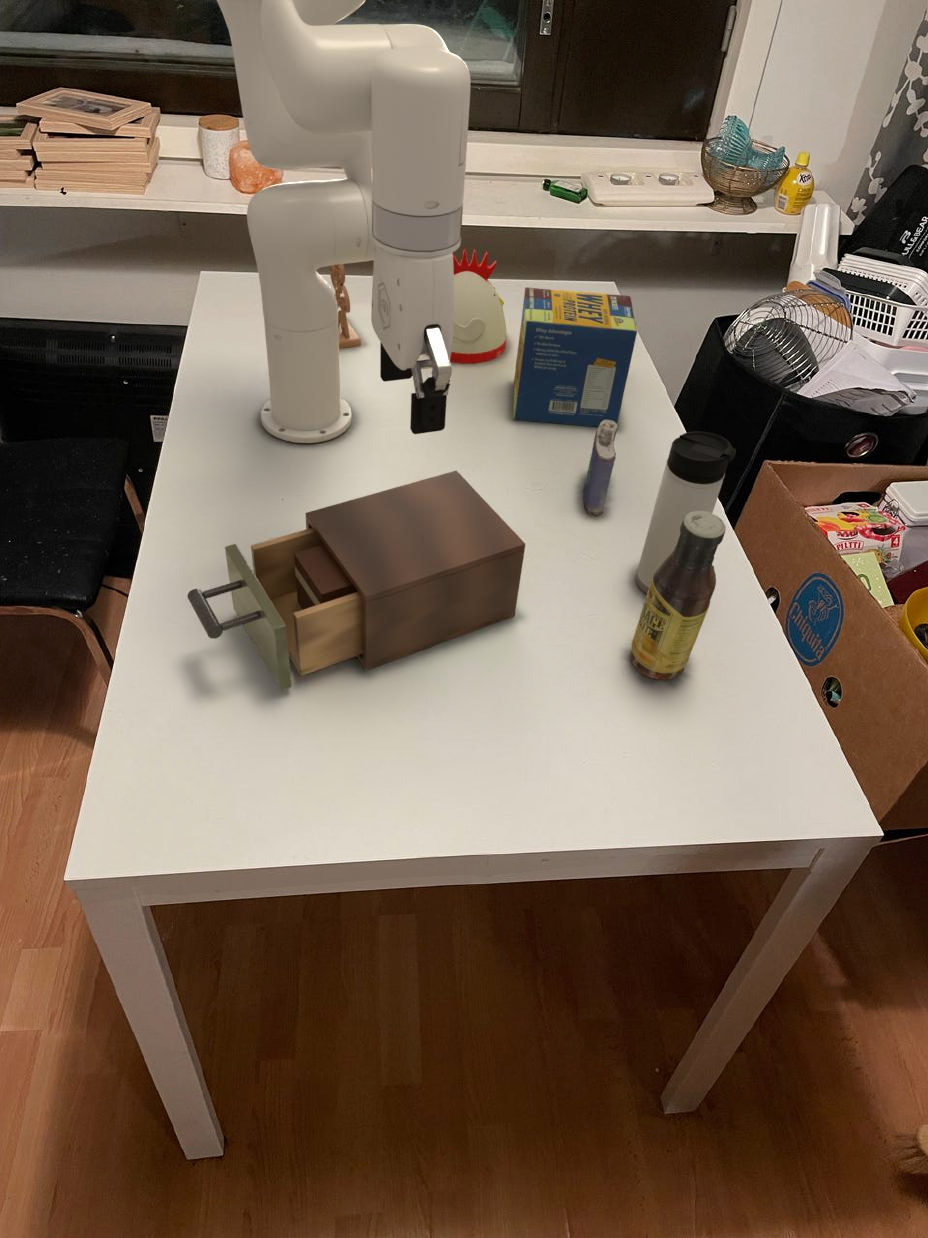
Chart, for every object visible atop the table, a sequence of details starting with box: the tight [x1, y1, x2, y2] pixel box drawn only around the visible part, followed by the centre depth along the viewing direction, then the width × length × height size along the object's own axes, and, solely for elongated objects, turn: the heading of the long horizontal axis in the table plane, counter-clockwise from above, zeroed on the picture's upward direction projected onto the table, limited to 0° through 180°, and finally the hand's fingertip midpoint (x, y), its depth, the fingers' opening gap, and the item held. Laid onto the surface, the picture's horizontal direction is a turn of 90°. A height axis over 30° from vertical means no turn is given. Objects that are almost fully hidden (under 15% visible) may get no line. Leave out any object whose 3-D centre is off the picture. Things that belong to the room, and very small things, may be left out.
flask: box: [582, 420, 619, 516], centre depth 118 cm, size 9×3×11 cm, turn 172°
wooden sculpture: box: [329, 264, 362, 349], centre depth 144 cm, size 9×4×12 cm, turn 24°
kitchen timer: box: [450, 248, 507, 364], centre depth 144 cm, size 14×14×15 cm
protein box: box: [512, 287, 638, 428], centre depth 132 cm, size 10×15×16 cm
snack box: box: [294, 544, 358, 610], centre depth 97 cm, size 4×7×7 cm, turn 31°
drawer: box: [187, 528, 363, 691], centre depth 96 cm, size 23×13×9 cm, turn 121°
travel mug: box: [635, 431, 737, 595], centre depth 103 cm, size 6×7×20 cm
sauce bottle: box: [630, 511, 726, 681], centre depth 93 cm, size 6×6×20 cm
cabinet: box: [305, 470, 526, 671], centre depth 101 cm, size 19×15×11 cm
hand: (411, 403), depth 88 cm, fingers open, 9 cm apart
